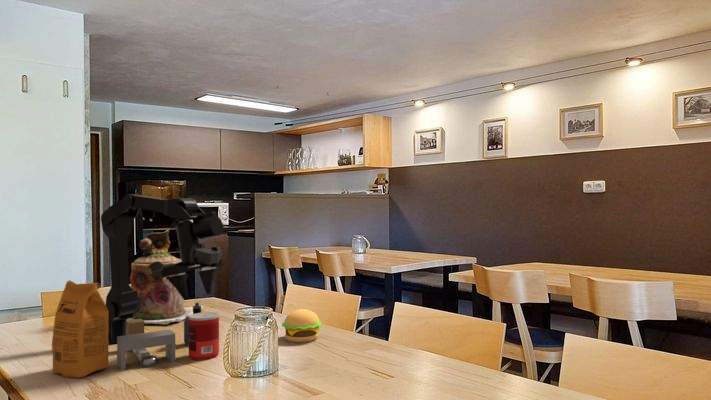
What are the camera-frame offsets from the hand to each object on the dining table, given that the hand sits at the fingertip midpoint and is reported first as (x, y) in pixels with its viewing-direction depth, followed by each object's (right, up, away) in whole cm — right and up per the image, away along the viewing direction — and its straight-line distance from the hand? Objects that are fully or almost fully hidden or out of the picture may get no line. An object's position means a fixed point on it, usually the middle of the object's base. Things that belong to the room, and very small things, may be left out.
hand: (197, 297), depth 143 cm
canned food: (+3, -15, -6) cm, 16 cm away
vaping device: (-3, -15, +7) cm, 17 cm away
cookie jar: (-28, -16, +43) cm, 54 cm away
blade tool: (-15, -15, -4) cm, 21 cm away
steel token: (-9, -15, -13) cm, 22 cm away
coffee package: (-23, -15, -18) cm, 33 cm away
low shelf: (-10, -15, -11) cm, 21 cm away
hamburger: (+28, -15, +12) cm, 34 cm away
